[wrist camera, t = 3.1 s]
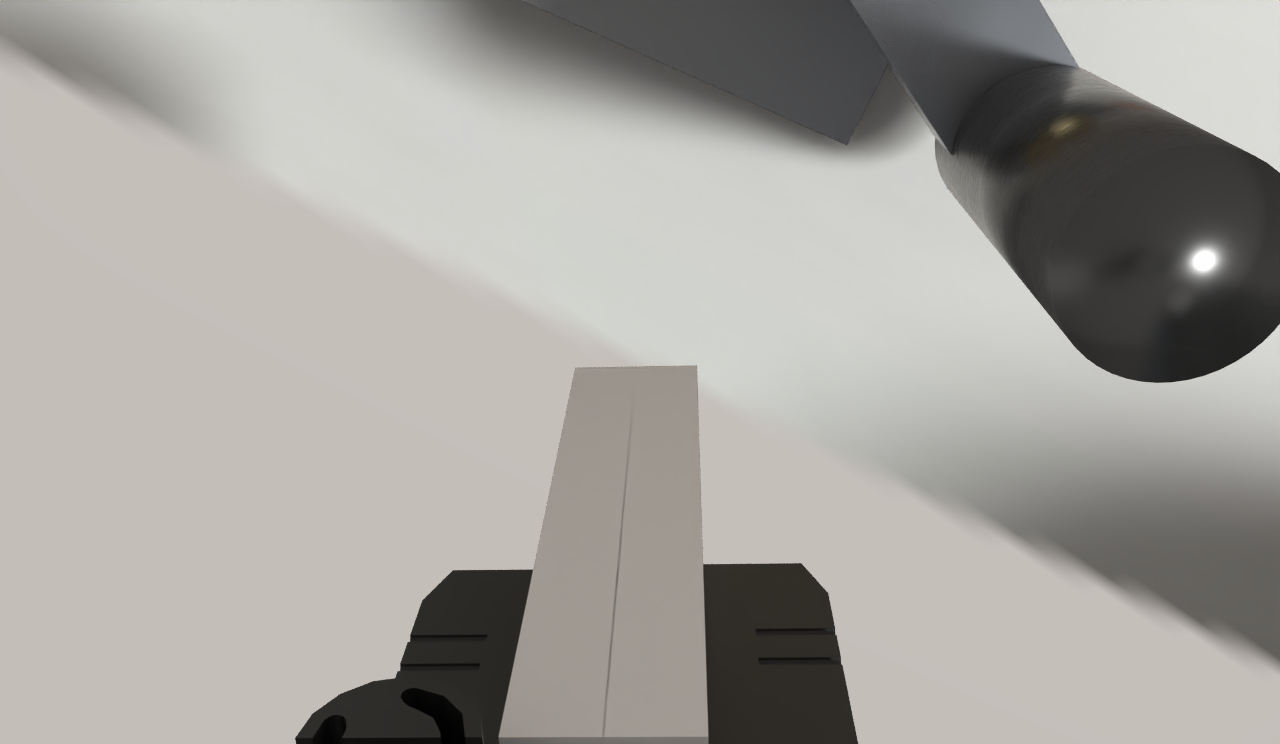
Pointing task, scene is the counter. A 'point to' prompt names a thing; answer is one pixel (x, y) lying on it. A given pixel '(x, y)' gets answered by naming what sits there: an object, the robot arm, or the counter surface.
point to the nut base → (751, 50)
